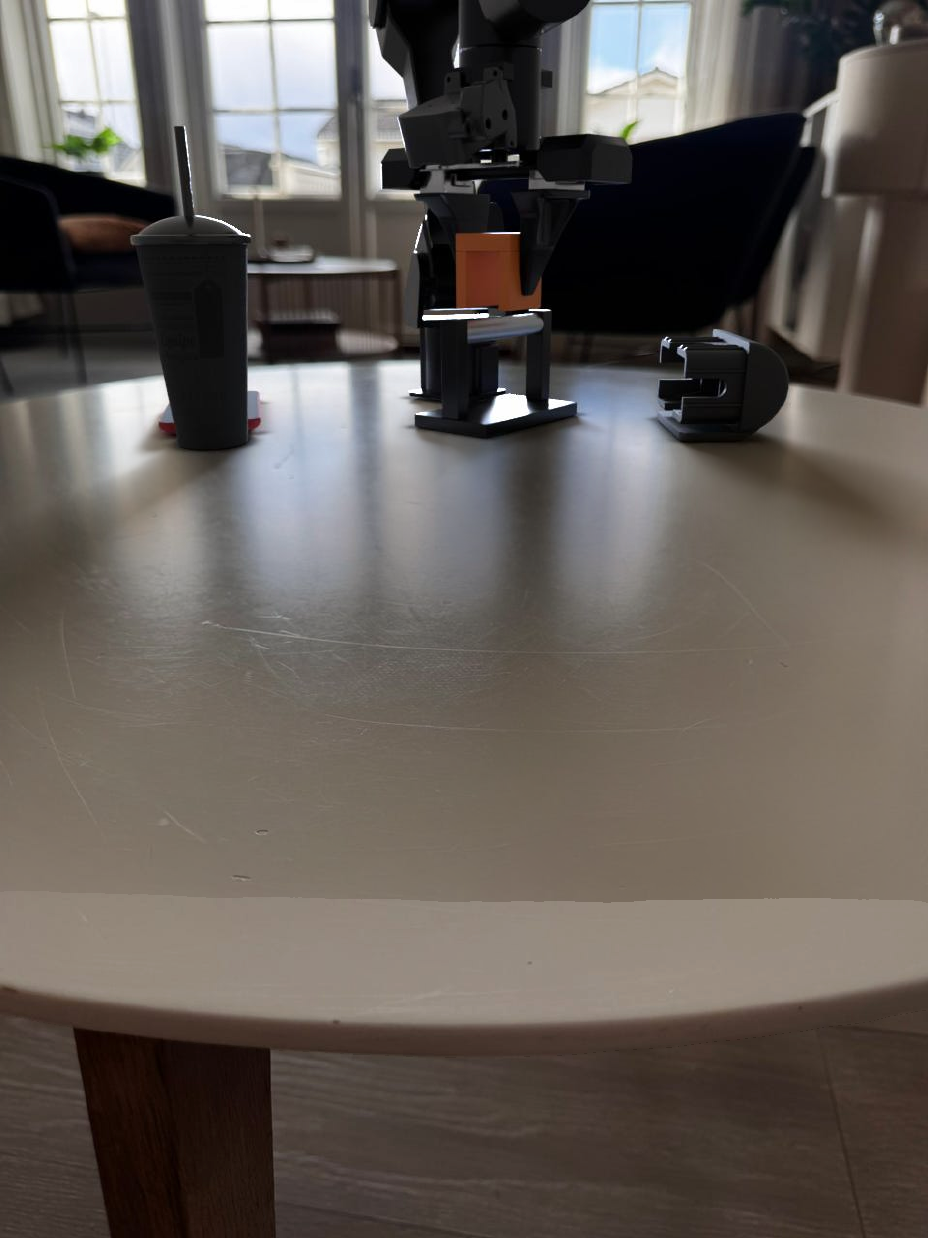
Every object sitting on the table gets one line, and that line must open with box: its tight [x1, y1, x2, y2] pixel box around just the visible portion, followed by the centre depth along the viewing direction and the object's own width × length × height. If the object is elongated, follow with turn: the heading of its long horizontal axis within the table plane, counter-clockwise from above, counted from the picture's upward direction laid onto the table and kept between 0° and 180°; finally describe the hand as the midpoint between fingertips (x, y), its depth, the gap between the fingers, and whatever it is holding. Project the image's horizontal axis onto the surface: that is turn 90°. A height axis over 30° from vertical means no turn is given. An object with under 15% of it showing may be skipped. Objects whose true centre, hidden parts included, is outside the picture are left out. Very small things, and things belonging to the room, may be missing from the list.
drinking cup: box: [129, 125, 252, 451], centre depth 62 cm, size 8×8×20 cm
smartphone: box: [158, 390, 262, 435], centre depth 75 cm, size 7×1×15 cm
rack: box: [414, 308, 578, 439], centre depth 71 cm, size 7×12×8 cm, turn 141°
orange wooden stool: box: [456, 232, 542, 312], centre depth 69 cm, size 5×4×5 cm
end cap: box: [656, 328, 790, 443], centre depth 68 cm, size 10×7×7 cm
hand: (498, 294), depth 69 cm, fingers closed on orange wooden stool, 5 cm apart
